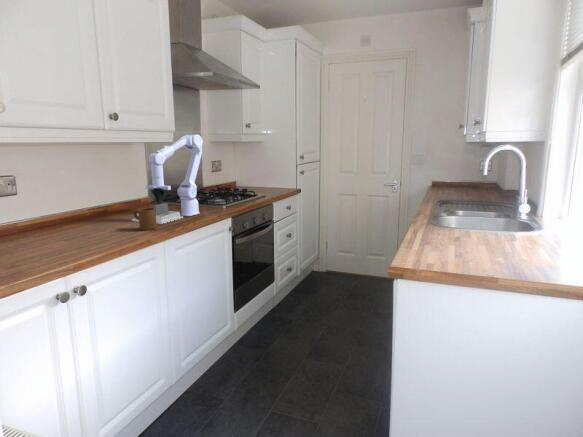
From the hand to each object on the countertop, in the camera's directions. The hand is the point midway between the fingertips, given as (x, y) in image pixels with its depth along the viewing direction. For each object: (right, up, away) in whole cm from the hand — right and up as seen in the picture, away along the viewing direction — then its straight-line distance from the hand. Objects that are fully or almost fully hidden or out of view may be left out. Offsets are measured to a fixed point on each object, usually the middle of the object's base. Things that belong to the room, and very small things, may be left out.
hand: (159, 203), depth 213 cm
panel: (0, -8, +2) cm, 8 cm away
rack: (-2, -9, +3) cm, 9 cm away
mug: (-1, -13, -19) cm, 23 cm away
